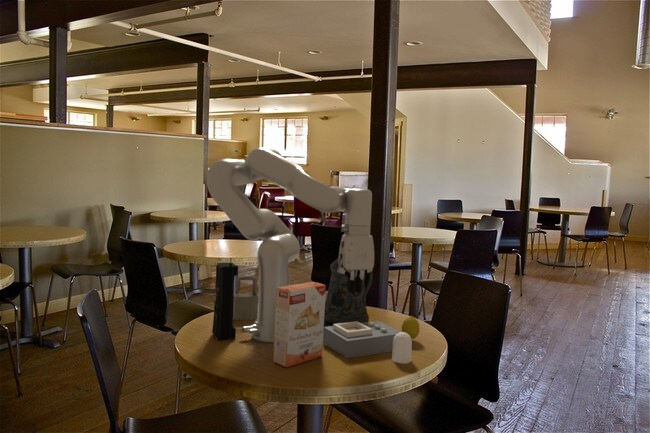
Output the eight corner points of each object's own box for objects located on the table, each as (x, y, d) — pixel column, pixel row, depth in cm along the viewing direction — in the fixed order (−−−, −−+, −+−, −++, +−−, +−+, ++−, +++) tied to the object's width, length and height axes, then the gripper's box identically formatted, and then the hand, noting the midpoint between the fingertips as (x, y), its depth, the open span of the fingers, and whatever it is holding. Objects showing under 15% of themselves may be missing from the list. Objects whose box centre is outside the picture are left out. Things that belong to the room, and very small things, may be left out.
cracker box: (287, 369, 139) (290, 290, 137) (272, 362, 143) (274, 286, 141) (323, 356, 149) (327, 284, 147) (308, 351, 153) (311, 280, 151)
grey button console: (346, 358, 148) (347, 335, 148) (322, 342, 161) (323, 322, 160) (403, 349, 158) (404, 328, 157) (377, 335, 170) (378, 316, 170)
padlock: (232, 317, 184) (233, 275, 183) (255, 316, 187) (256, 274, 185) (234, 320, 180) (235, 277, 179) (258, 319, 183) (259, 276, 182)
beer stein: (313, 328, 175) (316, 254, 173) (331, 314, 194) (334, 246, 192) (361, 335, 170) (365, 258, 168) (375, 319, 189) (378, 250, 186)
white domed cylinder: (391, 356, 152) (392, 329, 151) (409, 357, 152) (411, 330, 151) (392, 362, 146) (394, 334, 146) (412, 363, 146) (413, 335, 146)
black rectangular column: (210, 333, 166) (212, 254, 163) (229, 331, 168) (232, 254, 166) (216, 340, 158) (218, 258, 156) (235, 339, 161) (238, 258, 159)
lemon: (420, 339, 168) (422, 315, 167) (416, 344, 163) (417, 319, 162) (403, 336, 170) (405, 312, 170) (398, 341, 165) (400, 316, 165)
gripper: (340, 232, 147) (337, 297, 149) (386, 232, 155) (382, 293, 156) (328, 229, 154) (325, 291, 156) (372, 228, 161) (369, 287, 163)
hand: (354, 292), depth 156 cm, fingers closed
